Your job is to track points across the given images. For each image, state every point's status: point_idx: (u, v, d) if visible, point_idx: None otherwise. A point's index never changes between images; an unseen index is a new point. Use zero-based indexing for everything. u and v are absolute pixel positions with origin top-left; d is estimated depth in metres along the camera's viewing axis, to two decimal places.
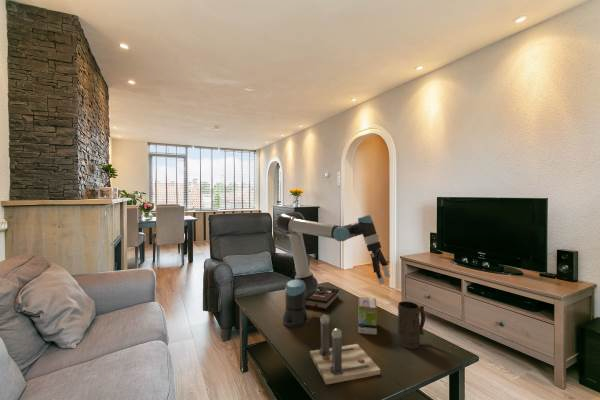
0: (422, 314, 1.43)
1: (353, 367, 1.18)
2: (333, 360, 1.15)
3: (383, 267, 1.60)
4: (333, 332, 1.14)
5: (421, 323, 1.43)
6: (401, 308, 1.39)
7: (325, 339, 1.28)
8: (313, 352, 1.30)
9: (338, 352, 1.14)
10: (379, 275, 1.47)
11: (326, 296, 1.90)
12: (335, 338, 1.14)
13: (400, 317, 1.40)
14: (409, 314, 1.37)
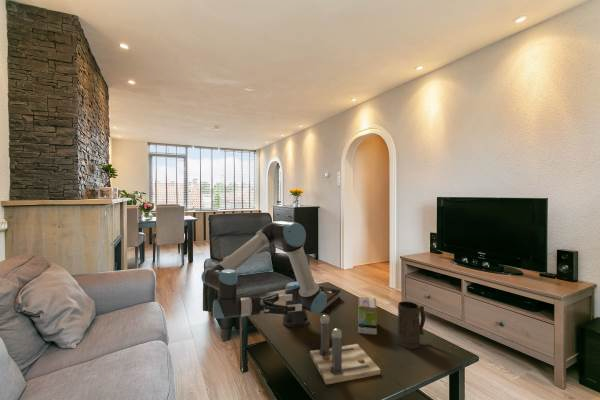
0: (422, 314, 1.43)
1: (353, 367, 1.18)
2: (333, 360, 1.15)
3: None
4: (333, 332, 1.14)
5: (421, 323, 1.43)
6: (401, 308, 1.39)
7: (325, 339, 1.28)
8: (313, 352, 1.30)
9: (338, 352, 1.14)
10: None
11: None
12: (335, 338, 1.14)
13: (400, 317, 1.40)
14: (409, 314, 1.37)
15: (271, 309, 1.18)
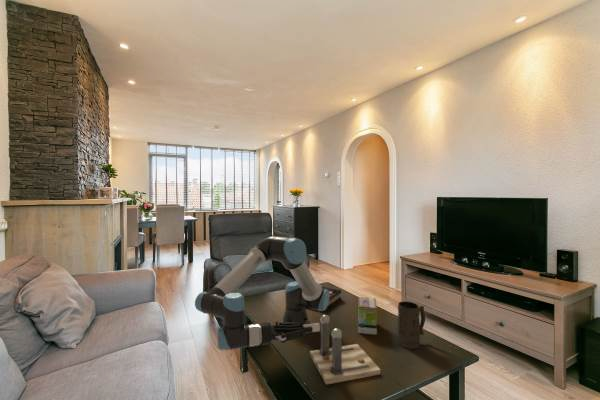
0: (422, 314, 1.43)
1: (353, 367, 1.18)
2: (333, 360, 1.15)
3: None
4: (333, 332, 1.14)
5: (421, 323, 1.43)
6: (401, 308, 1.39)
7: (325, 339, 1.28)
8: (313, 352, 1.30)
9: (338, 352, 1.14)
10: None
11: None
12: (335, 338, 1.14)
13: (400, 317, 1.40)
14: (409, 314, 1.37)
15: (288, 336, 1.04)
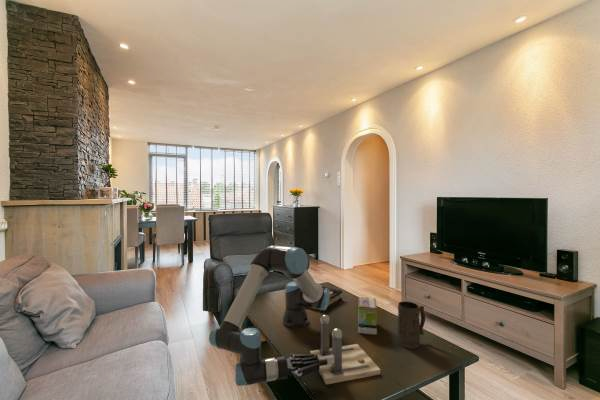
0: (422, 314, 1.43)
1: (353, 367, 1.18)
2: None
3: None
4: (333, 332, 1.14)
5: (421, 323, 1.43)
6: (401, 308, 1.39)
7: (325, 339, 1.28)
8: (313, 352, 1.30)
9: (338, 352, 1.14)
10: None
11: None
12: (335, 338, 1.14)
13: (400, 317, 1.40)
14: (409, 314, 1.37)
15: (304, 370, 1.06)
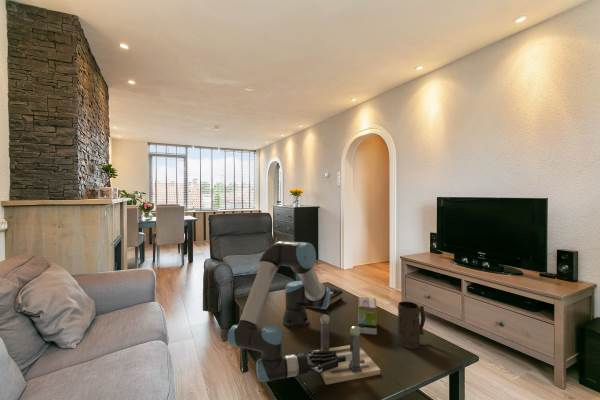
0: (422, 314, 1.43)
1: None
2: None
3: None
4: (351, 329, 1.17)
5: (421, 323, 1.43)
6: (401, 308, 1.39)
7: (325, 339, 1.28)
8: None
9: (356, 349, 1.16)
10: None
11: None
12: (353, 335, 1.16)
13: (400, 317, 1.40)
14: (409, 314, 1.37)
15: (324, 367, 1.08)
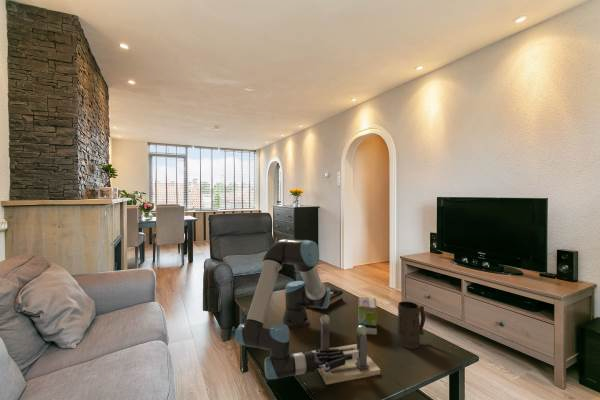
0: (422, 314, 1.43)
1: (353, 367, 1.18)
2: None
3: None
4: (358, 328, 1.17)
5: (421, 323, 1.43)
6: (401, 308, 1.39)
7: (325, 339, 1.28)
8: (313, 352, 1.30)
9: (363, 348, 1.17)
10: None
11: None
12: (360, 334, 1.17)
13: (400, 317, 1.40)
14: (409, 314, 1.37)
15: (332, 364, 1.10)
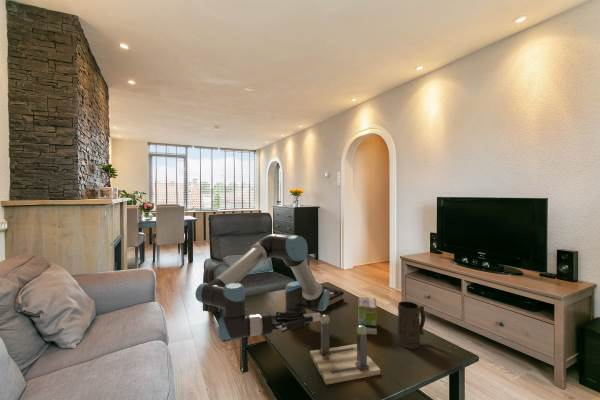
0: (422, 314, 1.43)
1: (353, 367, 1.18)
2: (358, 356, 1.18)
3: None
4: (358, 328, 1.17)
5: (421, 323, 1.43)
6: (401, 308, 1.39)
7: (325, 339, 1.28)
8: (313, 352, 1.30)
9: (363, 348, 1.17)
10: None
11: None
12: (361, 334, 1.17)
13: (400, 317, 1.40)
14: (409, 314, 1.37)
15: (289, 325, 1.05)
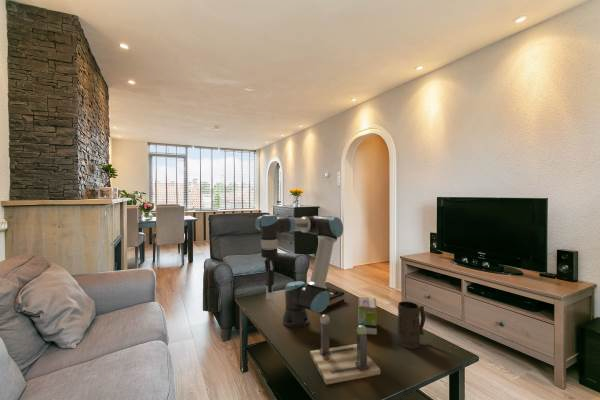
0: (422, 314, 1.43)
1: (353, 367, 1.18)
2: (358, 356, 1.18)
3: None
4: (358, 328, 1.17)
5: (421, 323, 1.43)
6: (401, 308, 1.39)
7: (325, 339, 1.28)
8: (313, 352, 1.30)
9: (363, 348, 1.17)
10: None
11: None
12: (361, 334, 1.17)
13: (400, 317, 1.40)
14: (409, 314, 1.37)
15: (272, 272, 1.26)
